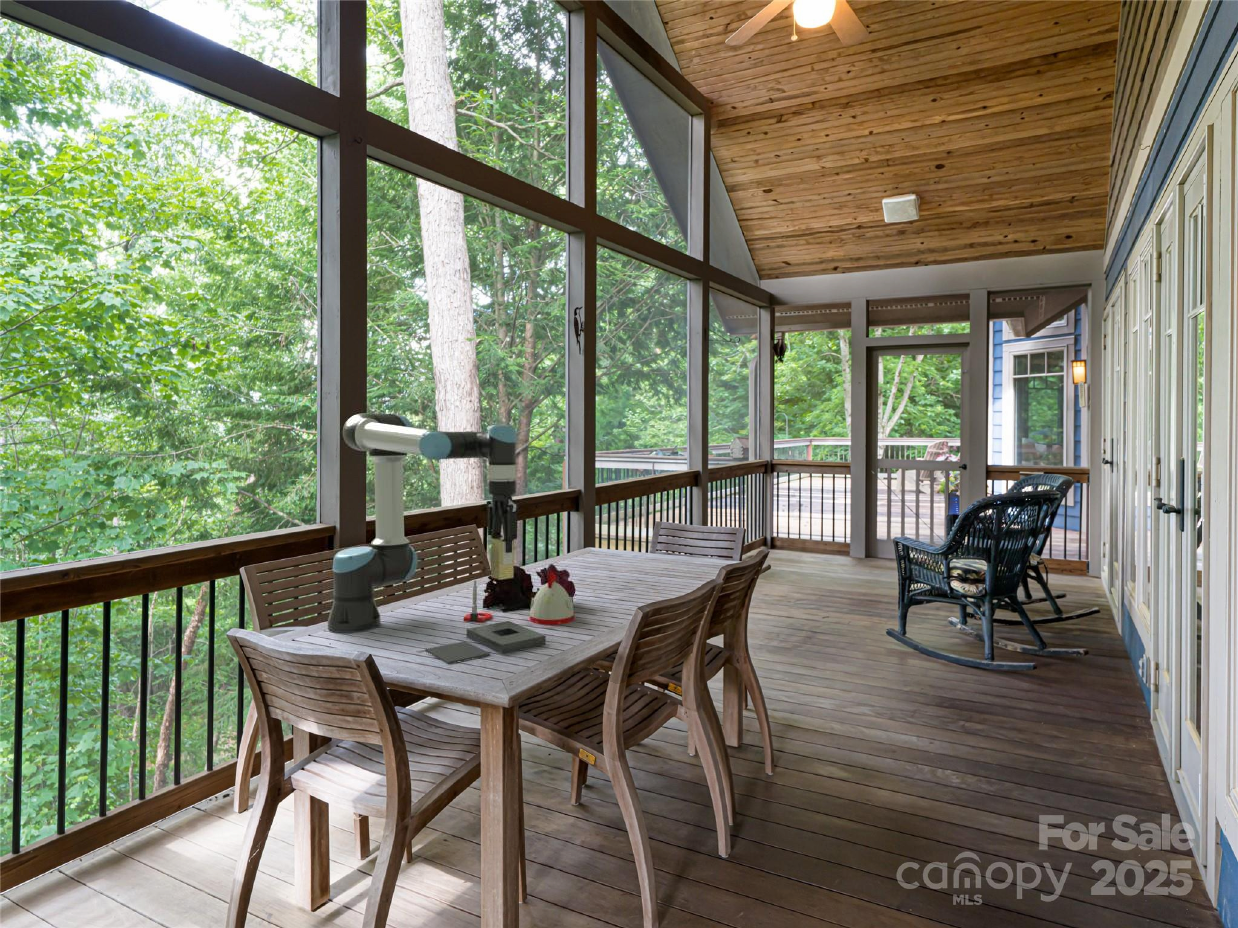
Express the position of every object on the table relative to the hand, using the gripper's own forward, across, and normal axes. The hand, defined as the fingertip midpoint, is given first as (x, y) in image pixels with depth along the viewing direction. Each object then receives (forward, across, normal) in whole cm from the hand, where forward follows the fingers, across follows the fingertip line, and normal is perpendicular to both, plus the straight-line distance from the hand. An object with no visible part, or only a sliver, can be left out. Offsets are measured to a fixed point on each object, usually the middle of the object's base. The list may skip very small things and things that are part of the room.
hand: (502, 562), depth 204 cm
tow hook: (+23, +27, -7) cm, 36 cm away
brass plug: (+4, 0, 0) cm, 4 cm away
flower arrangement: (+23, +30, -30) cm, 48 cm away
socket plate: (+22, 0, -1) cm, 23 cm away
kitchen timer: (+23, +11, -25) cm, 36 cm away
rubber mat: (+22, -2, +15) cm, 27 cm away
